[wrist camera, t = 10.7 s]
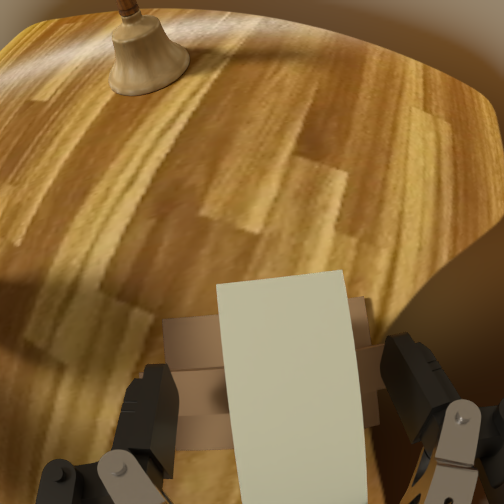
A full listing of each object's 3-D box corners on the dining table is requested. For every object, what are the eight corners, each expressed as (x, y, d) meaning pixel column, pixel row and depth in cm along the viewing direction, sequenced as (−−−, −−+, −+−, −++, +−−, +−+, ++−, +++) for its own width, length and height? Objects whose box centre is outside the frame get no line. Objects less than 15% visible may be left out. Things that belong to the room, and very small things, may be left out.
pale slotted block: (305, 428, 16) (367, 512, 5) (252, 435, 16) (247, 532, 5) (292, 320, 18) (342, 269, 7) (239, 327, 18) (216, 284, 7)
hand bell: (137, 108, 24) (77, -52, 9) (95, 79, 26) (41, -45, 11) (207, 60, 26) (187, -90, 11) (157, 38, 28) (128, -83, 13)
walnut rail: (178, 447, 16) (153, 474, 11) (165, 320, 19) (134, 307, 14) (376, 422, 16) (413, 440, 11) (360, 298, 19) (393, 278, 14)
